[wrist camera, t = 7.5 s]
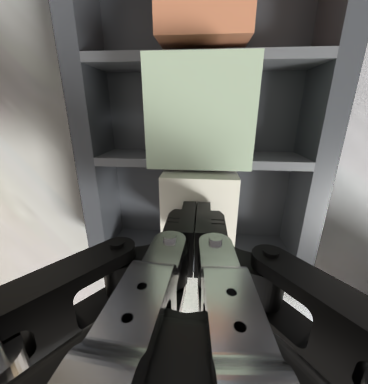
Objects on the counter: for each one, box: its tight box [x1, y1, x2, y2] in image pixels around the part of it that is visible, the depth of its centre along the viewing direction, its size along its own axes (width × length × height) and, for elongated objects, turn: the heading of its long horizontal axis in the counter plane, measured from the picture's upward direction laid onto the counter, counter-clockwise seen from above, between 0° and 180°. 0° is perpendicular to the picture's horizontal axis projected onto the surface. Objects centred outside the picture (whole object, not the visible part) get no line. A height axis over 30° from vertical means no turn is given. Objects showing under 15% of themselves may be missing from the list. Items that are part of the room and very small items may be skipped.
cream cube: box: [159, 169, 241, 247], centre depth 15 cm, size 4×4×4 cm
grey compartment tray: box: [49, 0, 368, 272], centre depth 13 cm, size 15×26×4 cm, turn 0°
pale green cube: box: [140, 48, 265, 172], centre depth 10 cm, size 4×4×4 cm
